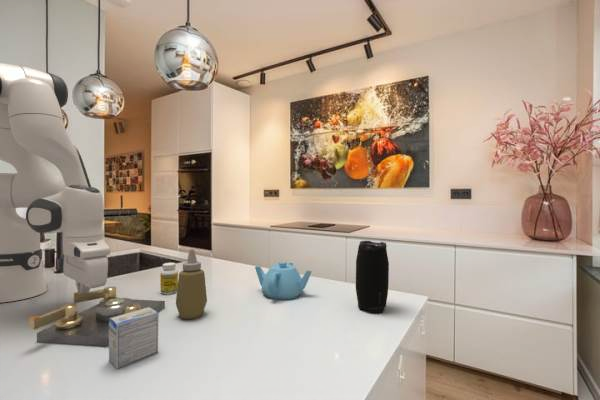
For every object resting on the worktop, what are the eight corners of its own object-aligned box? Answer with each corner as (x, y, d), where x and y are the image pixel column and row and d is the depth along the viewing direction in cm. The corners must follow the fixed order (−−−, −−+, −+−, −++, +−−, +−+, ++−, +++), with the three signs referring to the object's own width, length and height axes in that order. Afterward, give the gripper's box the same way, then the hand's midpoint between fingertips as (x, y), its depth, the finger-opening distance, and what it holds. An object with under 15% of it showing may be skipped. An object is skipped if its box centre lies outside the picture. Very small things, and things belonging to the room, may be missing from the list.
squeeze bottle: (173, 323, 75) (173, 253, 75) (177, 310, 83) (178, 247, 83) (206, 319, 77) (206, 251, 77) (207, 308, 85) (208, 246, 85)
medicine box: (149, 345, 64) (149, 306, 64) (158, 352, 61) (159, 311, 61) (108, 361, 58) (108, 317, 58) (116, 370, 55) (116, 324, 55)
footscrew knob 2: (118, 299, 85) (118, 283, 85) (122, 304, 82) (122, 287, 82) (72, 308, 78) (72, 291, 78) (75, 314, 75) (75, 295, 74)
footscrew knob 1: (70, 318, 72) (70, 299, 72) (87, 320, 71) (87, 301, 71) (22, 339, 62) (22, 317, 62) (41, 341, 61) (41, 319, 61)
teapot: (253, 290, 102) (253, 259, 102) (291, 284, 109) (292, 255, 109) (269, 305, 89) (270, 269, 89) (312, 297, 96) (313, 264, 96)
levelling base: (36, 342, 65) (36, 316, 65) (110, 305, 87) (110, 286, 87) (108, 346, 63) (108, 320, 63) (164, 307, 85) (164, 288, 85)
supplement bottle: (176, 288, 102) (176, 261, 102) (179, 293, 98) (179, 264, 98) (159, 291, 99) (159, 263, 99) (161, 296, 95) (161, 266, 95)
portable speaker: (353, 302, 91) (354, 239, 91) (384, 304, 90) (385, 240, 90) (357, 313, 82) (358, 244, 82) (391, 315, 82) (392, 245, 82)
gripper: (56, 243, 82) (56, 292, 82) (84, 252, 70) (83, 310, 70) (83, 240, 87) (82, 286, 87) (113, 249, 75) (112, 302, 75)
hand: (83, 297), depth 79 cm, fingers closed
